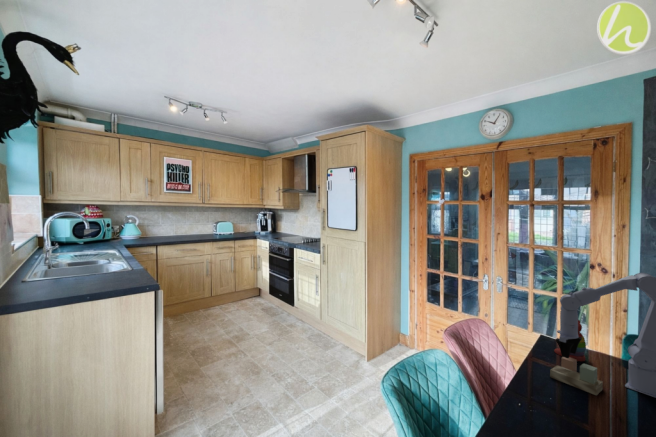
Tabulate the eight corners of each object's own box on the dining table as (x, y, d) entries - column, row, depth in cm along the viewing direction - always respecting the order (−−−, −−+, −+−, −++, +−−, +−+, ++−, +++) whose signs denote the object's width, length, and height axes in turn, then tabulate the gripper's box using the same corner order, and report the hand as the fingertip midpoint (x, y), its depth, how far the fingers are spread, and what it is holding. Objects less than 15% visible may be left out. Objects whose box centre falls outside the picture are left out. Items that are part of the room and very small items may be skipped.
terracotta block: (576, 371, 118) (576, 359, 118) (573, 373, 116) (573, 362, 116) (564, 367, 121) (564, 355, 121) (561, 369, 119) (561, 357, 119)
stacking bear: (575, 352, 135) (575, 315, 135) (593, 362, 125) (593, 323, 125) (552, 350, 136) (552, 314, 136) (567, 361, 126) (567, 322, 126)
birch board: (602, 389, 105) (602, 381, 105) (596, 395, 101) (596, 387, 101) (557, 372, 117) (557, 364, 117) (550, 377, 113) (550, 369, 113)
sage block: (597, 381, 105) (597, 367, 105) (593, 384, 103) (593, 370, 103) (583, 376, 108) (583, 363, 108) (579, 379, 106) (579, 366, 106)
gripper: (563, 317, 126) (563, 347, 126) (550, 323, 118) (550, 355, 118) (584, 322, 120) (584, 353, 120) (571, 329, 112) (571, 362, 112)
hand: (568, 355), depth 118 cm, fingers open, 7 cm apart
